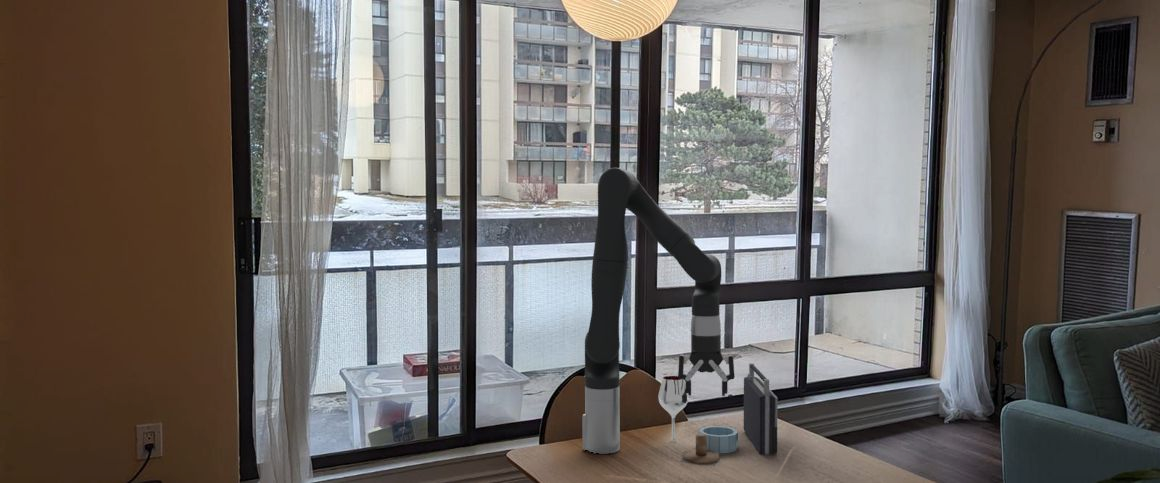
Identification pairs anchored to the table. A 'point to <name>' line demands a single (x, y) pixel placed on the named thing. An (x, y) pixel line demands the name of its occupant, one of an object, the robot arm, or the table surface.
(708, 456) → the lid
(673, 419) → the wineglass
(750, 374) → the radio
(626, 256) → the robot arm
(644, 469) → the table surface
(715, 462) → the mat
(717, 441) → the bowl
